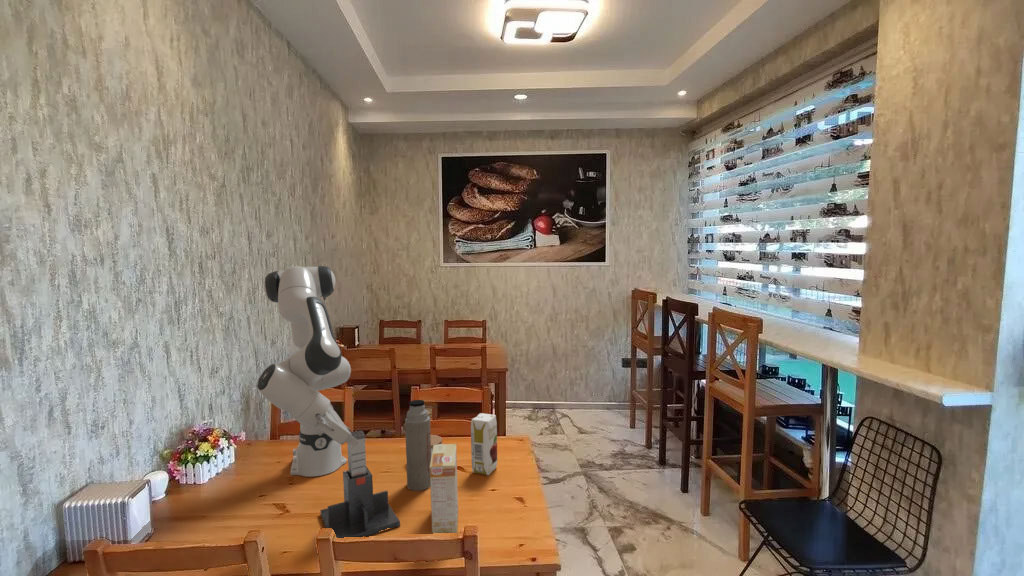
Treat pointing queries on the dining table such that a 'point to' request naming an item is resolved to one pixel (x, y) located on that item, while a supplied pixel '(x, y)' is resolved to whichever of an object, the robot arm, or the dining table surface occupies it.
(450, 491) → the coffeecake box
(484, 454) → the juice carton
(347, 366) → the robot arm
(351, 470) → the steel column
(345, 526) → the jack stand
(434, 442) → the lidded jar
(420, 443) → the thermos bottle
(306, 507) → the dining table surface
